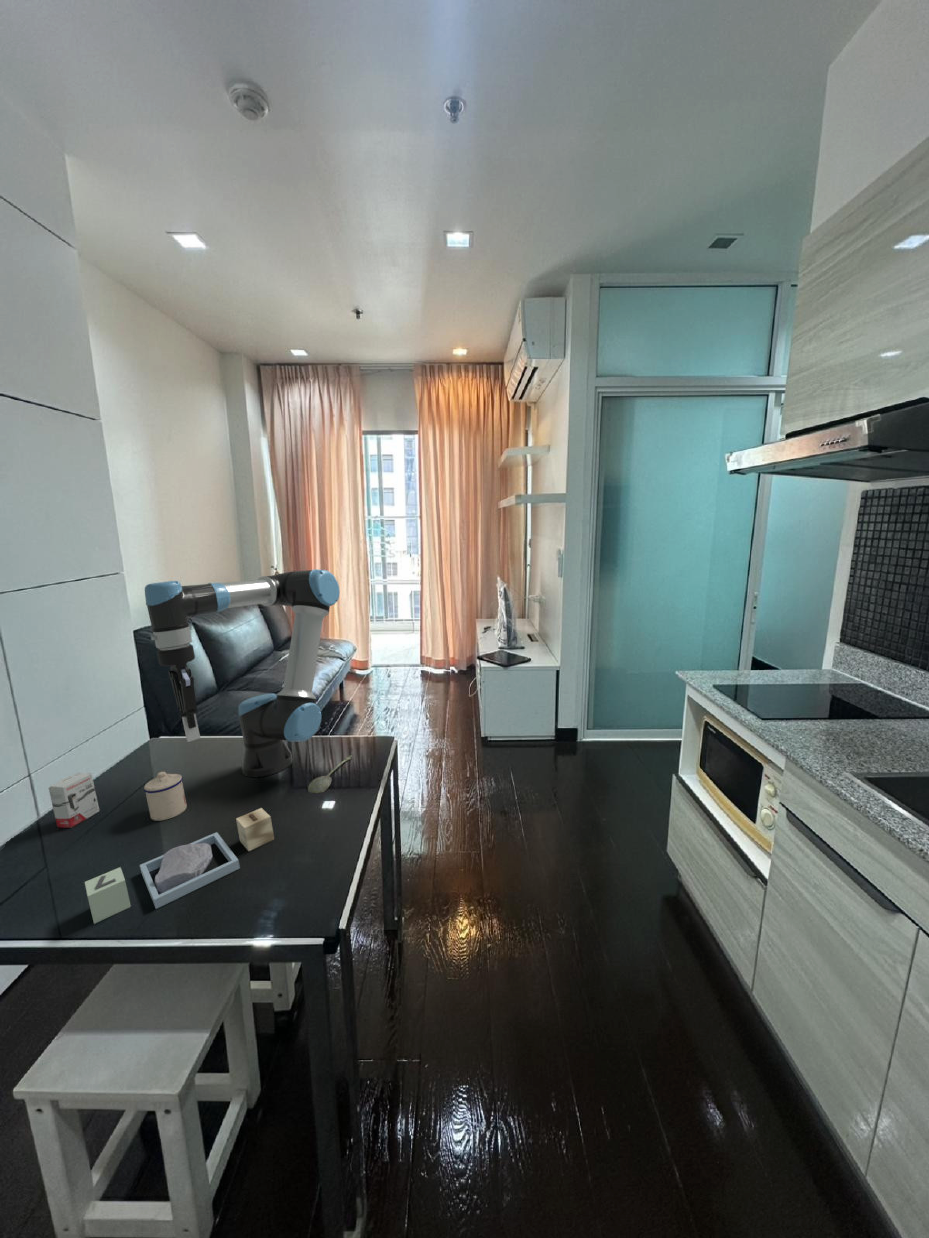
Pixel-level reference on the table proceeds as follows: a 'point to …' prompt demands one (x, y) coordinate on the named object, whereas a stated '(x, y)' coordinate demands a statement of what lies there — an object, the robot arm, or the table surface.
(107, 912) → the numbered sage-green block
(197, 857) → the stone block
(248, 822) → the numbered birch block
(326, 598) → the robot arm
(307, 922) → the table surface
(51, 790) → the ink box
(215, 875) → the slate-blue holder
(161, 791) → the teacup with lid
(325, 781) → the soupspoon
